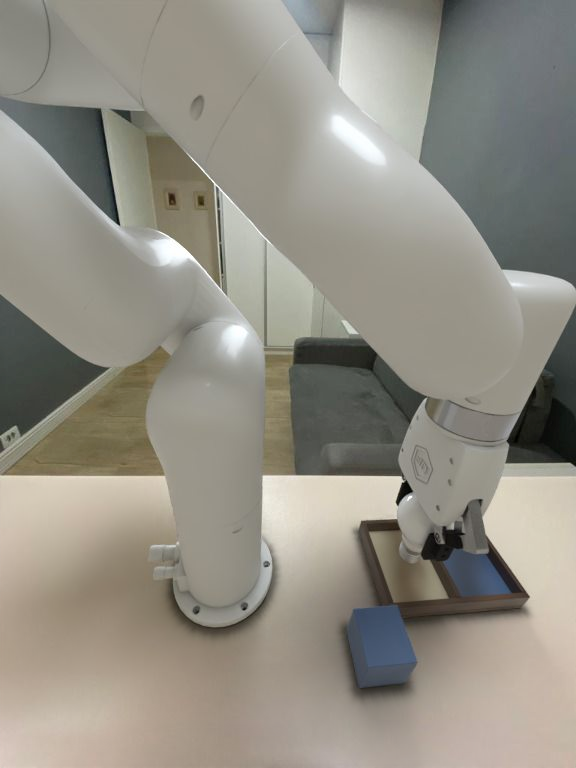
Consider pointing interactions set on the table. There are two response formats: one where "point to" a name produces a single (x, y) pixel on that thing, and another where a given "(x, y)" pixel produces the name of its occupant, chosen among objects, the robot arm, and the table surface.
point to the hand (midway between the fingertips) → (419, 527)
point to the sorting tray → (437, 577)
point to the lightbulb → (413, 528)
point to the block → (380, 646)
